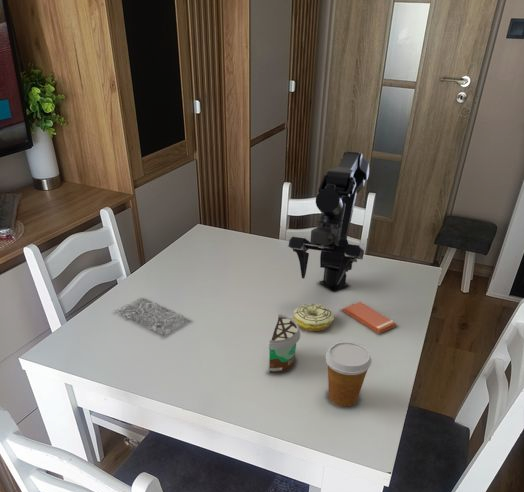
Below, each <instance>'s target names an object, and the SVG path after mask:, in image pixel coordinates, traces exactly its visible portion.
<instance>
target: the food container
mask: <svg viewBox="0 0 524 492" xmlns="http://www.w3.org/2000/svg"><path fill="white" fill-rule="evenodd" d="M277 316H278V317H277V322H276V325H275V327H274V331H273V334H272V337H271V339H269V344H268V350H269V374H281V373H285V372H287V371H289V370H290V369H292V367H293V366H294V364H295V356H296V349H297V343H298V342H299V340H300V338H301V331H300V326H298V324H297V323H296V321H295V320H294V318H292V317H290V316H287V315H285V314H280V313H279V314H278V315H277Z"/></svg>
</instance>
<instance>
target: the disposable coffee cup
mask: <svg viewBox="0 0 524 492" xmlns="http://www.w3.org/2000/svg"><path fill="white" fill-rule="evenodd" d="M372 360H373V359H372V357H371V352H370V351H369V349H367V348H366V347H365V346H363V344H359V343H357V342H353V341H340V342H335V343H333V344H332V345H331V346H330V347H329V348H328V350H327V351H326V353H325V361H326V365H327V383H328V384H327V385H328V386H327V387H328V399H329V400H330V402H331V403H333V404H334V405H336V406H339V407H342V408H344V407H345V408H347V407H352V406H354V405H356V403H357V402H358V399H359V396H360V393H361V390H362V387H363V385H364V382H365V378H366V375H367V372H368V370H369V368H370V367H371V366H372V363H373V361H372Z"/></svg>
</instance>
